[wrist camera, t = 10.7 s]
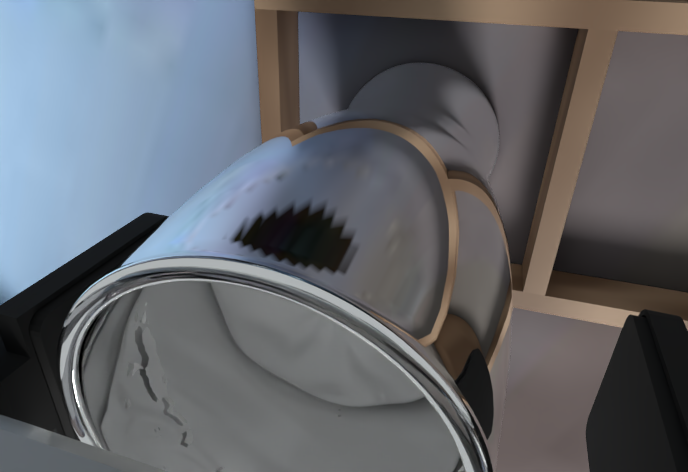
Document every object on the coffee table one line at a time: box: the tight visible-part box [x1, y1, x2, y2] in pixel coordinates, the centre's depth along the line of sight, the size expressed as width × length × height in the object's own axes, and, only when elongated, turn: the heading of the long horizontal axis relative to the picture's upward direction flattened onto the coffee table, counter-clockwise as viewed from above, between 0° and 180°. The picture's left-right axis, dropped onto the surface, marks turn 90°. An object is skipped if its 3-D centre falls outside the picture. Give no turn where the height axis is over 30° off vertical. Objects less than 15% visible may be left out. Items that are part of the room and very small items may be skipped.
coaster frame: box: [254, 0, 688, 330], centre depth 18 cm, size 22×11×2 cm, turn 89°
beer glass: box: [56, 62, 513, 472], centre depth 13 cm, size 7×7×15 cm
